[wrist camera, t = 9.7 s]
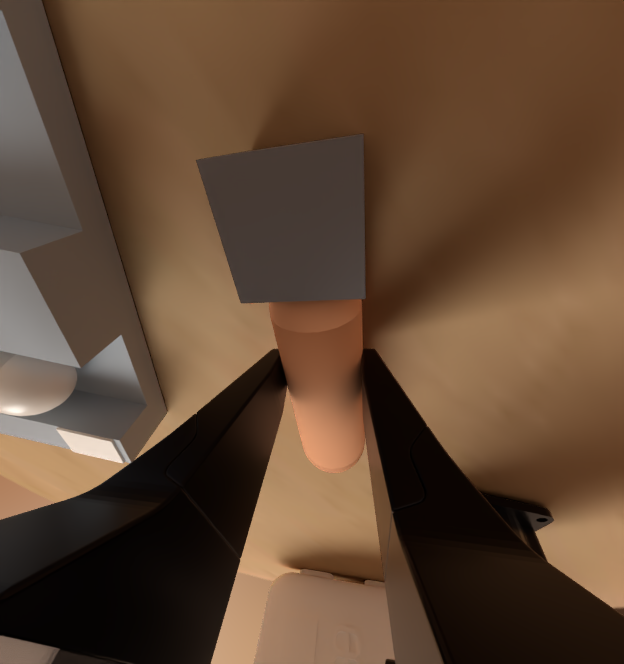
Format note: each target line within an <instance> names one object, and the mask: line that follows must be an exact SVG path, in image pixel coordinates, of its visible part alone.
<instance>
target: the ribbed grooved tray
mask: <svg viewBox="0 0 624 664" xmlns="http://www.w3.org/2000/svg"><path fill="white" fill-rule="evenodd" d="M0 351H4V352H8V353H13V354H17V355H22V356H27V357H31V358H36V359H40V360H45V361H50V362H54V363H59V364H64V365H68V366H73V367H75V369H76V372H77V382H76V386H75V388H74V390H73V392H72V393H71V395H70V396H69V397H68V398H67V399H66V400H65V401H64V402H63V403H62V404H60V405H59V406H57V407H55V408H53V409H52V410H49V411H47V412H44V413H40V414H36V415H30V416H14V415H7V414H3V413H0V433H2V434H6V435H10V436H15V437H19V438H23V439H28V440H32V441H36V442H41V443H45V444H50V445H54V446H58V447H63V448H67V449H71V450H72V451H73V452H76V453H80V454H84V455H89V456H93V457H97V458H102V459H106V460H110V461H115V462H119V463H123V464H124V462H128V463H131V462H133V461H134V459H135V458H136V457H137V455H138V454H139V452H140V451H141V449H142V448H143V447H144V445H145V444H146V442H147V441H148V440H149V438H150V437H151V435H152V434H153V432H154V431H155V430H156V428H157V427H158V425H159V424H160V422H161V421H162V420H163V418H164V417H165V415H166V414H167V410H166V406H165V403H164V400H163V397H162V393H161V390H160V387H159V384H158V380H157V377H156V374H155V370H154V367H153V364H152V361H151V357H150V354H149V351H148V347H147V344H146V341H145V338H144V334H143V331H142V328H141V325H140V321H139V318H138V315H137V311H136V308H135V305H134V302H133V298H132V295H131V292H130V288H129V285H128V282H127V279H126V275H125V272H124V269H123V266H122V262H121V259H120V256H119V252H118V249H117V246H116V243H115V239H114V236H113V233H112V230H111V226H110V223H109V220H108V216H107V213H106V210H105V207H104V203H103V200H102V197H101V193H100V190H99V187H98V184H97V180H96V177H95V174H94V171H93V167H92V164H91V161H90V157H89V154H88V151H87V148H86V144H85V141H84V138H83V134H82V131H81V128H80V125H79V121H78V118H77V115H76V112H75V108H74V105H73V102H72V98H71V95H70V92H69V89H68V85H67V82H66V79H65V75H64V72H63V69H62V66H61V62H60V59H59V56H58V53H57V49H56V46H55V43H54V39H53V36H52V33H51V30H50V26H49V23H48V20H47V16H46V13H45V10H44V7H43V3H42V0H0Z"/></svg>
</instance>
